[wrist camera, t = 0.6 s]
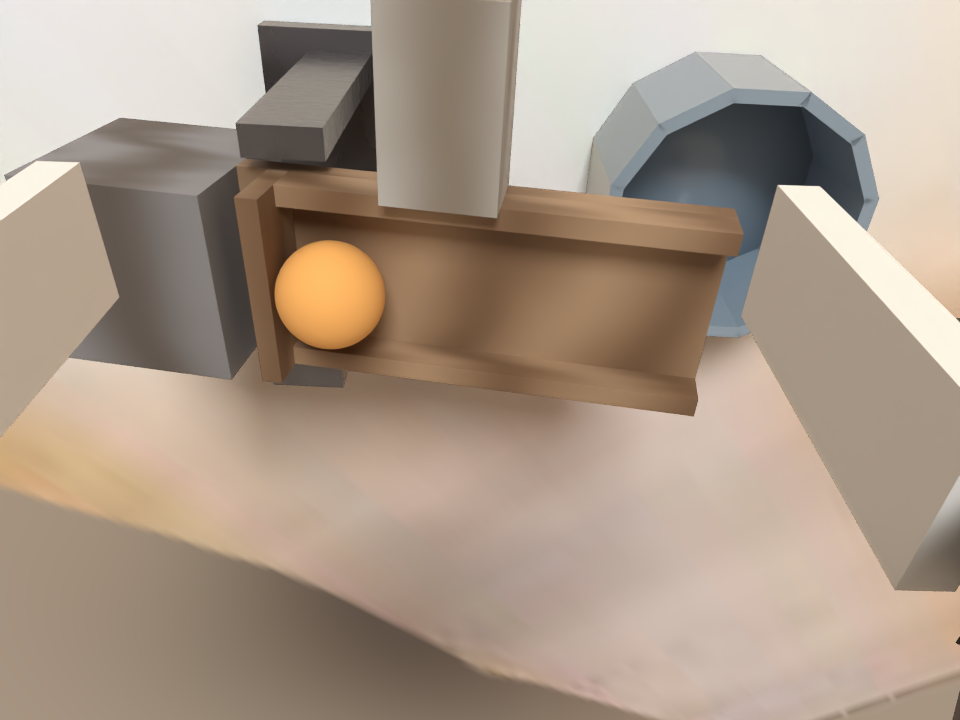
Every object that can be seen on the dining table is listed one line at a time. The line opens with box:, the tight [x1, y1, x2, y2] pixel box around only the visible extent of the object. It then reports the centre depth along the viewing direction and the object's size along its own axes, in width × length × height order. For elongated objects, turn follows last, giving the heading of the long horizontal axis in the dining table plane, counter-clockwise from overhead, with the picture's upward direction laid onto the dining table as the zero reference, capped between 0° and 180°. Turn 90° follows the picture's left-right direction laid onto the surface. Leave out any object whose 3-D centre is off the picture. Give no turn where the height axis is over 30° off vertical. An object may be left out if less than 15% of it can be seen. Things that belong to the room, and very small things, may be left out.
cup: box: [586, 52, 879, 337], centre depth 36 cm, size 12×12×7 cm
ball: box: [274, 240, 385, 349], centre depth 26 cm, size 4×4×4 cm
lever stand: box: [236, 21, 377, 388], centre depth 33 cm, size 8×13×14 cm, turn 177°
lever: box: [4, 0, 744, 416], centre depth 27 cm, size 25×14×7 cm, turn 88°
